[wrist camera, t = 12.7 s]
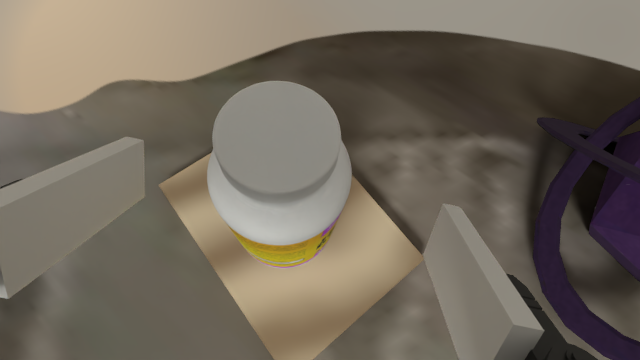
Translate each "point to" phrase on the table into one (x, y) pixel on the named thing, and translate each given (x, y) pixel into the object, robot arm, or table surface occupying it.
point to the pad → (299, 268)
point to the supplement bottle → (279, 171)
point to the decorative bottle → (593, 222)
